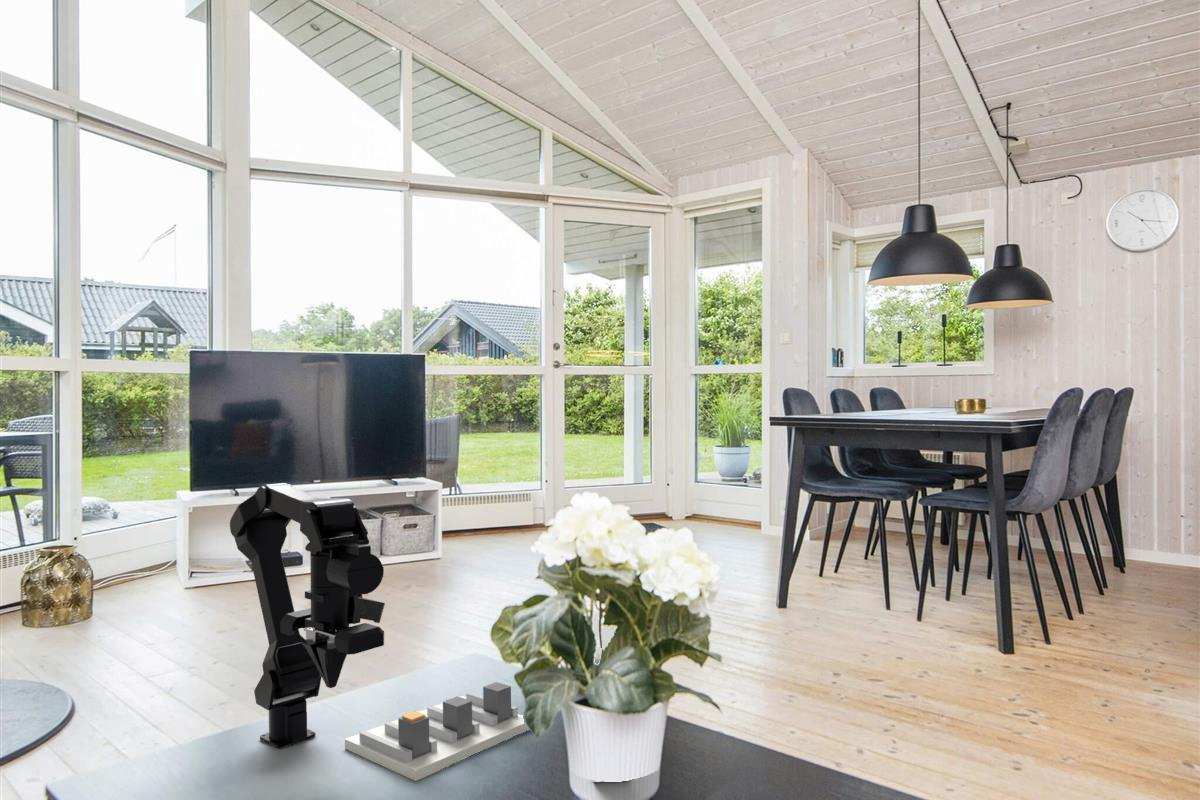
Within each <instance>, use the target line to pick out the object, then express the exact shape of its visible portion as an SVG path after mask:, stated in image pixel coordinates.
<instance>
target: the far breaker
mask: <svg viewBox="0 0 1200 800" xmlns="http://www.w3.org/2000/svg"><path fill="white" fill-rule="evenodd" d="M482 689H483V692H482V694H483V695H482V696H483V707H484V711H486V712H489V713H492V714H494V715H497V716H498V722H499V721H502V720H504V719H506V718H509V717H511V705H512V686H511V685H507V684H505V683H501V682H498V681H495V682H492V683H491V684H487V685H485V686H483V687H482Z"/></svg>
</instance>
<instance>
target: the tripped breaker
mask: <svg viewBox="0 0 1200 800" xmlns="http://www.w3.org/2000/svg"><path fill="white" fill-rule="evenodd" d="M397 720H398V731H399V745H400V746H402V747H405V748H407V749H409V750H412V757H413V758H414V757H416V756H419V755H421V754H423V753H426V752H428V751H429V717H426V716H425V714H422V713H419V711H416V710H415V711H412V712H411V711H410V712H409V713H406V714H403V715H402V716H401V717H398V718H397Z"/></svg>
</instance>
